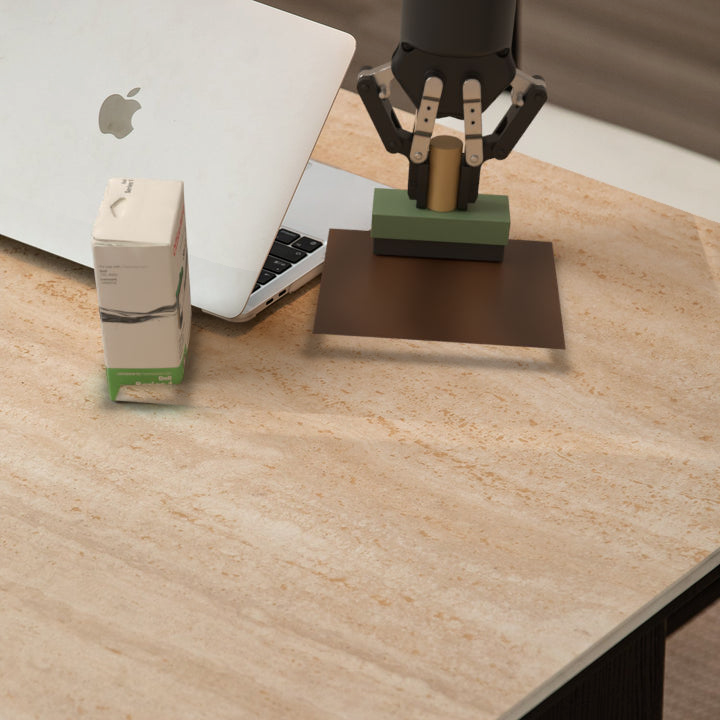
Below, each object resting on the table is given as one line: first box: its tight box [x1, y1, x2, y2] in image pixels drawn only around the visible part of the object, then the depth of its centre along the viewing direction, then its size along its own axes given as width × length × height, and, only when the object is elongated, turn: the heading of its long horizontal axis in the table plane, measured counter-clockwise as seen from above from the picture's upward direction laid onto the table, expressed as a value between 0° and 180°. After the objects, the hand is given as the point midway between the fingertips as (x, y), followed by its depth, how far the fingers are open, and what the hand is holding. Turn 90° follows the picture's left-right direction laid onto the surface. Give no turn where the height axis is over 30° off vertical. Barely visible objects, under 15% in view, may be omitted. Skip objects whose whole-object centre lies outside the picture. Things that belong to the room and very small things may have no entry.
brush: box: [370, 134, 511, 261], centre depth 90 cm, size 10×4×8 cm, turn 87°
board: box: [312, 227, 566, 350], centre depth 89 cm, size 17×14×2 cm
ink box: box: [90, 176, 193, 402], centre depth 79 cm, size 9×5×12 cm, turn 1°
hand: (441, 203), depth 91 cm, fingers closed on brush, 2 cm apart
